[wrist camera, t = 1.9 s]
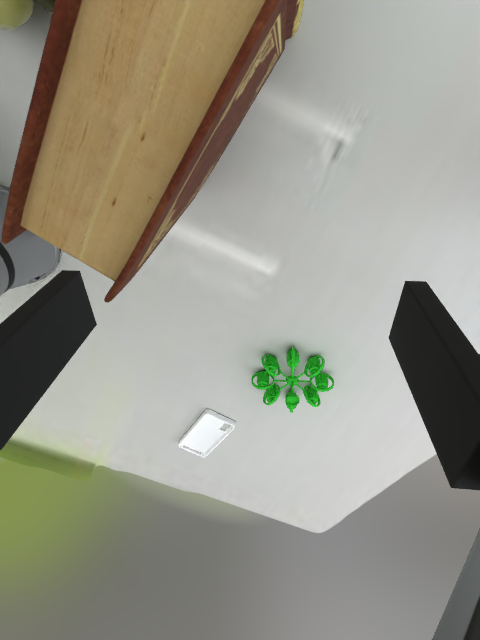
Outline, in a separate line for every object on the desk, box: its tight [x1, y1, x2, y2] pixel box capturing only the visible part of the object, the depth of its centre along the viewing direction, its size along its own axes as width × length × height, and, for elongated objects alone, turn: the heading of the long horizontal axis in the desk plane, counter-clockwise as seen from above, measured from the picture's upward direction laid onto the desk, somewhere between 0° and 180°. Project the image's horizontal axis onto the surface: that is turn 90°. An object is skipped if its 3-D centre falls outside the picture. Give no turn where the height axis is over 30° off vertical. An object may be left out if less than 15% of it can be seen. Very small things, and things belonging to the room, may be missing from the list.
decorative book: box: [1, 0, 304, 302], centre depth 28 cm, size 22×8×30 cm, turn 146°
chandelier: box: [252, 347, 334, 412], centre depth 62 cm, size 15×15×7 cm
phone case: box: [178, 409, 235, 458], centre depth 77 cm, size 7×1×15 cm
